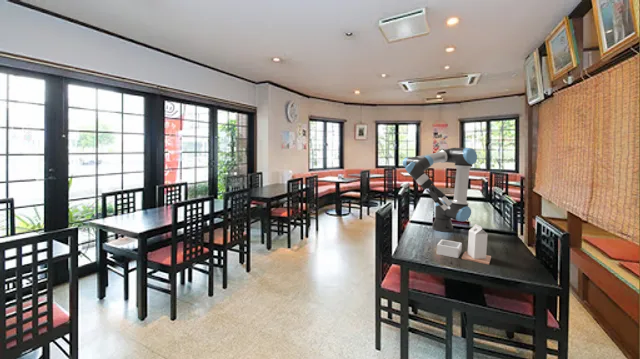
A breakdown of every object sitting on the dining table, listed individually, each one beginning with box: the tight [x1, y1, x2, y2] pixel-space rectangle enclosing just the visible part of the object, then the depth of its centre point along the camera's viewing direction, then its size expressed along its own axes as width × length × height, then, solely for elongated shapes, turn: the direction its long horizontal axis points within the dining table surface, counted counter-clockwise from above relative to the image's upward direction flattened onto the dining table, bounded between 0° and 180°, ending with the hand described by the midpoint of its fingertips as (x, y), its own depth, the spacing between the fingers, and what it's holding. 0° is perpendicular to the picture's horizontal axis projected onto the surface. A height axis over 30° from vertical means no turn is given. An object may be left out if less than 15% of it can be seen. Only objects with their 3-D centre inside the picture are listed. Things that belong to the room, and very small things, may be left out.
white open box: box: [436, 239, 463, 259], centre depth 176 cm, size 12×12×6 cm
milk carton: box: [467, 223, 489, 259], centre depth 167 cm, size 7×7×19 cm
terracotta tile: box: [461, 250, 492, 265], centre depth 168 cm, size 12×14×1 cm
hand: (448, 207), depth 180 cm, fingers open, 13 cm apart
